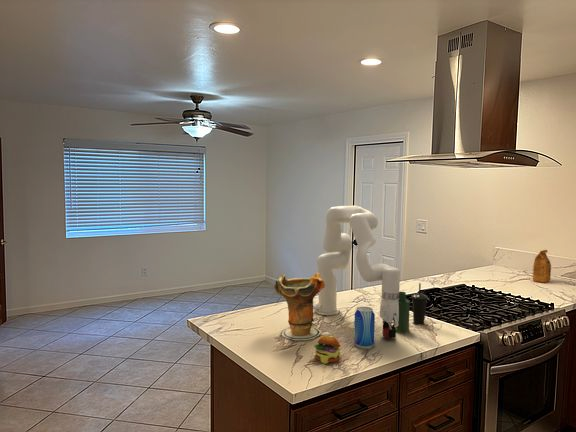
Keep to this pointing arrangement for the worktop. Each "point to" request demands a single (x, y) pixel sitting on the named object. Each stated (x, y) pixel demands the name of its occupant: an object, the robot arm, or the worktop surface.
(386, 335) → the cap
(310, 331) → the decorative vase
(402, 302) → the bottle
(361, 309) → the beer can
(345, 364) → the worktop surface
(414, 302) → the drinking cup
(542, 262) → the coffee package
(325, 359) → the cheeseburger
